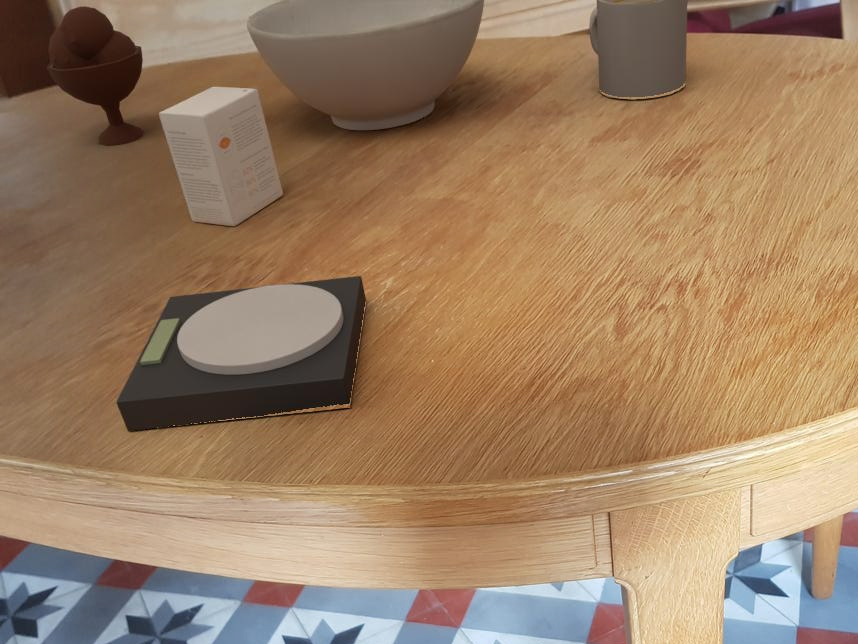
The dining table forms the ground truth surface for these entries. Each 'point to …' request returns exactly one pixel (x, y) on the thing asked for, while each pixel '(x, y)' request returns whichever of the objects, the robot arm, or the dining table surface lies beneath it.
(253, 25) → the decorative bowl
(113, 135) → the ice cream bowl
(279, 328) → the scale
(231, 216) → the small box
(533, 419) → the dining table surface
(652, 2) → the coffee mug
